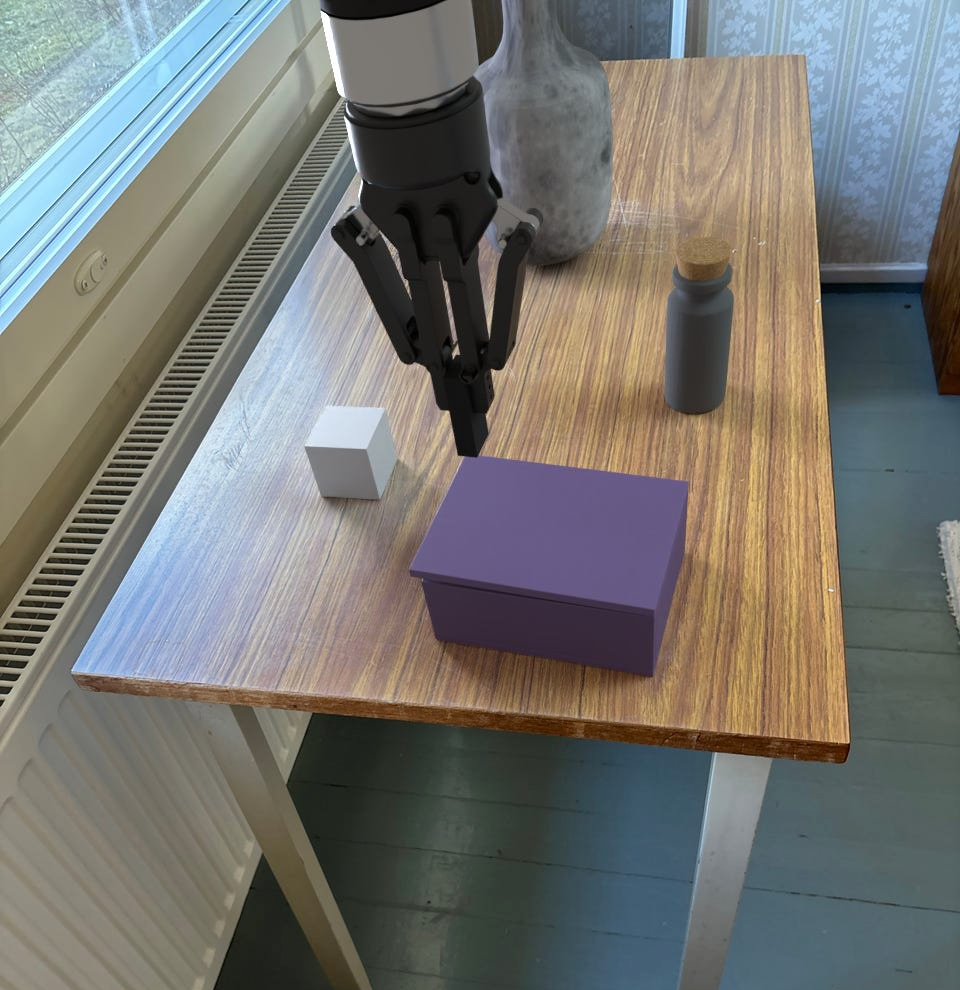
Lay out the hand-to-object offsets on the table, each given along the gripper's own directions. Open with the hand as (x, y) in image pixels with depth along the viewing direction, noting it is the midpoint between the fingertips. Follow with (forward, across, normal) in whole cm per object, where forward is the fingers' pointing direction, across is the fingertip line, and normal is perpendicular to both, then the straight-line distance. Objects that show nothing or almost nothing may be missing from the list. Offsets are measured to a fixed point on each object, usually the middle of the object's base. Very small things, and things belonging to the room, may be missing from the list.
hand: (473, 444), depth 67 cm
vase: (+15, +10, -54) cm, 57 cm away
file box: (+15, -6, 0) cm, 16 cm away
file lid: (+8, -5, 0) cm, 9 cm away
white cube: (+15, +18, -11) cm, 25 cm away
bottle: (+15, -12, -28) cm, 34 cm away
